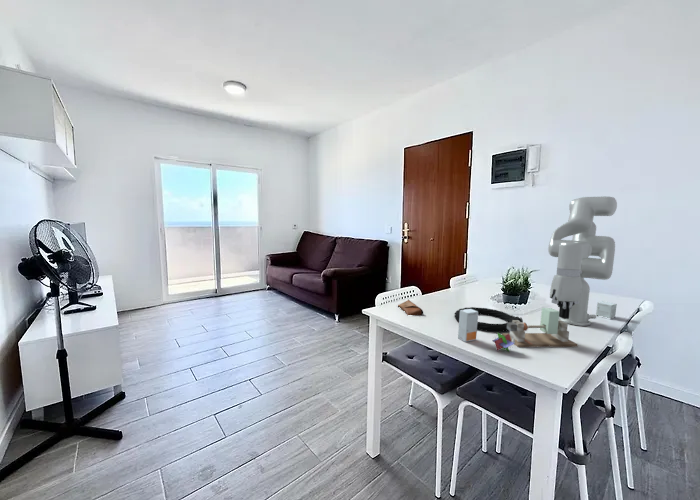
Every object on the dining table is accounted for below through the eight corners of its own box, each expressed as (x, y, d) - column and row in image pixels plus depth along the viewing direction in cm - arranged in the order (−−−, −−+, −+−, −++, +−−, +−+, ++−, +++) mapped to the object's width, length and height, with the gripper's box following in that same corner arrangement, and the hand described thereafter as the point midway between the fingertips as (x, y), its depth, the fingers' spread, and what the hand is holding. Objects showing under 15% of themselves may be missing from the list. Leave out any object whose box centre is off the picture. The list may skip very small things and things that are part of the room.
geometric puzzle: (497, 350, 106) (510, 331, 106) (484, 342, 112) (496, 325, 113) (510, 359, 107) (522, 342, 108) (496, 351, 114) (508, 334, 114)
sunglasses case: (395, 305, 164) (401, 295, 164) (405, 311, 166) (411, 300, 166) (408, 316, 147) (414, 304, 147) (419, 322, 149) (425, 310, 149)
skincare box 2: (595, 315, 152) (596, 302, 151) (600, 314, 155) (602, 300, 154) (610, 319, 147) (612, 305, 146) (615, 317, 150) (617, 303, 149)
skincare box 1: (465, 342, 117) (467, 313, 115) (457, 338, 120) (459, 310, 119) (476, 340, 119) (478, 311, 118) (468, 336, 123) (470, 308, 122)
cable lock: (450, 304, 157) (512, 308, 151) (450, 311, 157) (511, 315, 151) (459, 322, 130) (534, 328, 124) (458, 330, 130) (533, 337, 124)
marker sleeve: (549, 329, 121) (551, 308, 120) (557, 333, 117) (559, 311, 116) (539, 329, 121) (541, 308, 120) (547, 334, 117) (549, 311, 116)
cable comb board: (556, 335, 125) (558, 317, 124) (577, 346, 114) (579, 326, 114) (500, 335, 124) (501, 317, 123) (516, 347, 113) (517, 327, 112)
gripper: (578, 271, 121) (573, 314, 123) (543, 271, 120) (539, 314, 122) (594, 274, 113) (589, 321, 115) (557, 274, 112) (552, 321, 114)
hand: (563, 317), depth 119 cm, fingers closed
